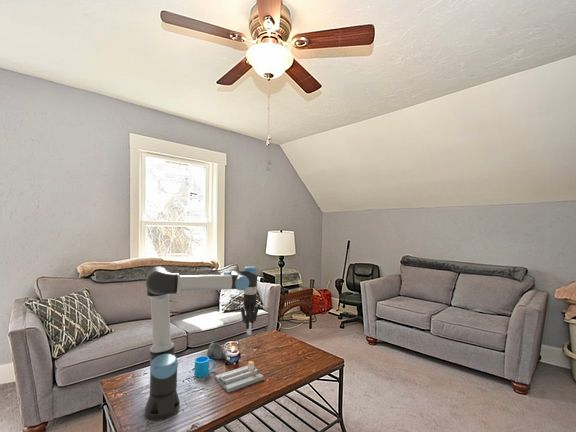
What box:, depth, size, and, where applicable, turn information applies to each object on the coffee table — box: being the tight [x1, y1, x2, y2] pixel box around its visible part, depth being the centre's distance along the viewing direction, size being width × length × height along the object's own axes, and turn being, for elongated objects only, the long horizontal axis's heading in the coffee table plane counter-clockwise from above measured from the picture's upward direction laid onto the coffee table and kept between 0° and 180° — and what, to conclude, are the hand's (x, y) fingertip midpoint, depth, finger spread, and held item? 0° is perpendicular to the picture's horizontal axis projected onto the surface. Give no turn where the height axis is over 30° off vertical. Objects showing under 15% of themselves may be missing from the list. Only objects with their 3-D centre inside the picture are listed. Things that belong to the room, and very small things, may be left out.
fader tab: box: [247, 360, 255, 372], centre depth 168 cm, size 2×3×5 cm
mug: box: [193, 355, 216, 378], centre depth 170 cm, size 12×8×8 cm
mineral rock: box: [206, 342, 226, 360], centre depth 188 cm, size 13×11×10 cm
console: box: [214, 364, 264, 393], centre depth 163 cm, size 22×16×4 cm
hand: (248, 334), depth 167 cm, fingers closed
